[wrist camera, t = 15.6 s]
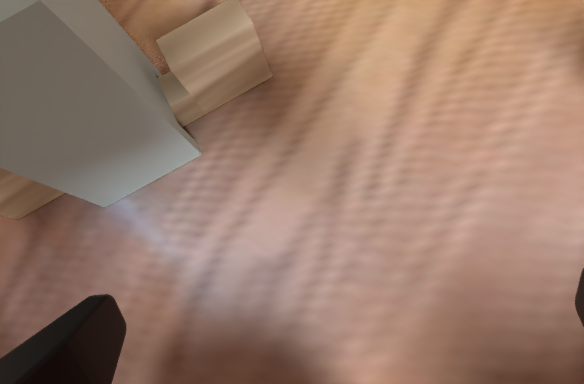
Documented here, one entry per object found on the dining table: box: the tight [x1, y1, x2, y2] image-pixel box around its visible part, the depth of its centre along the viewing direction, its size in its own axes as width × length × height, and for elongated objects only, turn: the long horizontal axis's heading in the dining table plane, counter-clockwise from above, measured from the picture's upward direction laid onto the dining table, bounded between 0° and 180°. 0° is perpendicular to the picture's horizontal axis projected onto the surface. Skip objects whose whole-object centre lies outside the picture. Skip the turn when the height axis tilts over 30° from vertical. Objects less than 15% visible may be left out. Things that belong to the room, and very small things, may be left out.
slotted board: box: [0, 0, 273, 220], centre depth 23 cm, size 2×18×5 cm, turn 118°
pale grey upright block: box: [0, 0, 202, 208], centre depth 19 cm, size 6×7×13 cm
